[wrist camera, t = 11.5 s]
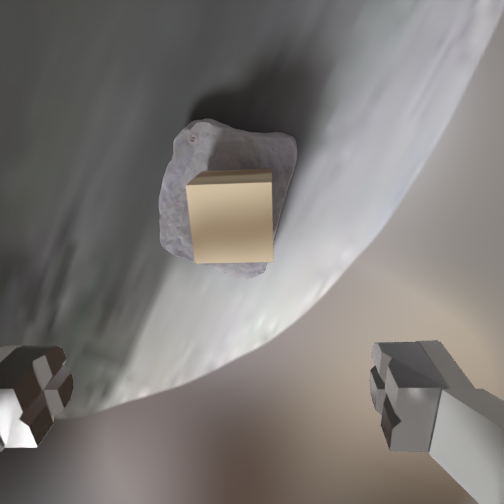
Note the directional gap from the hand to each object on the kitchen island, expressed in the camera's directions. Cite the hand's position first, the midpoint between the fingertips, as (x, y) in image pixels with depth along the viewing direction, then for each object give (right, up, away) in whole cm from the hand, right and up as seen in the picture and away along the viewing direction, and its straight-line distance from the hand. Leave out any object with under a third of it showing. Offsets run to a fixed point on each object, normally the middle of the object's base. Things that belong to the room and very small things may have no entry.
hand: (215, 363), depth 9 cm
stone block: (-1, +8, +20) cm, 22 cm away
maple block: (0, +6, +16) cm, 18 cm away
